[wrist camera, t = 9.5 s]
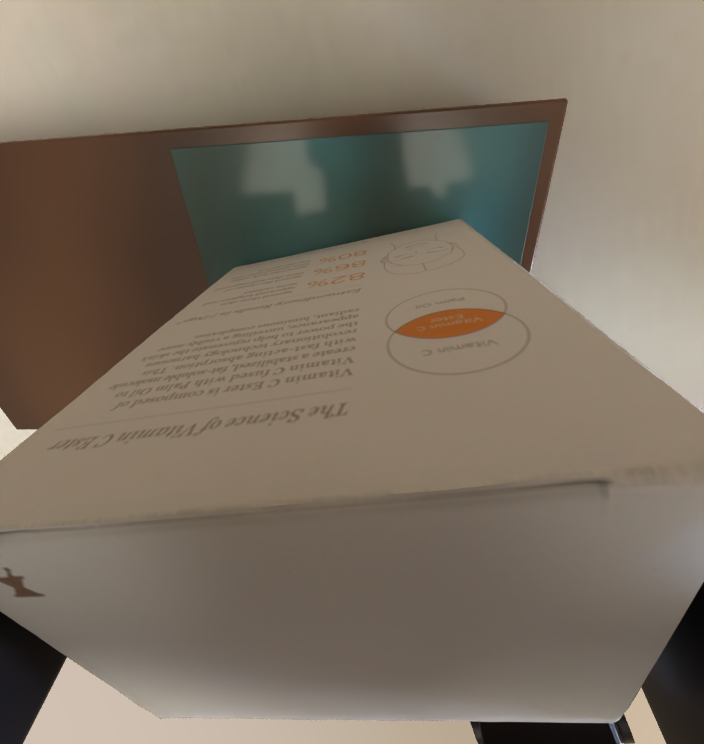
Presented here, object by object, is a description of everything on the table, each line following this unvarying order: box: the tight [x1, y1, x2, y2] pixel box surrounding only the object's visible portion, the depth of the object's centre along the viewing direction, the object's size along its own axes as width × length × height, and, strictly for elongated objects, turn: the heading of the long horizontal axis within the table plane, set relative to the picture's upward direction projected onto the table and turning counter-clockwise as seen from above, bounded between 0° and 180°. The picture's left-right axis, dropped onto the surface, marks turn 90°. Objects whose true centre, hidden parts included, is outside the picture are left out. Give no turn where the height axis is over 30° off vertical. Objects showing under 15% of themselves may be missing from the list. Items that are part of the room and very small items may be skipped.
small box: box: [0, 219, 704, 723], centre depth 9 cm, size 8×6×10 cm
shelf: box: [0, 98, 568, 429], centre depth 16 cm, size 24×12×6 cm, turn 94°
